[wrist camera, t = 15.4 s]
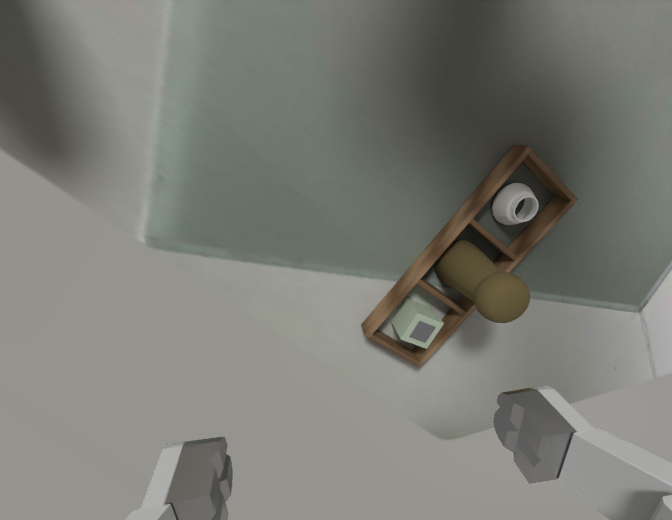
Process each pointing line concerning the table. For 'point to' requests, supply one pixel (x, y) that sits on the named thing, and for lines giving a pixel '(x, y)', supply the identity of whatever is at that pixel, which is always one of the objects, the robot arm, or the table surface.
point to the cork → (482, 282)
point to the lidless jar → (514, 204)
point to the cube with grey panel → (416, 323)
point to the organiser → (465, 217)
